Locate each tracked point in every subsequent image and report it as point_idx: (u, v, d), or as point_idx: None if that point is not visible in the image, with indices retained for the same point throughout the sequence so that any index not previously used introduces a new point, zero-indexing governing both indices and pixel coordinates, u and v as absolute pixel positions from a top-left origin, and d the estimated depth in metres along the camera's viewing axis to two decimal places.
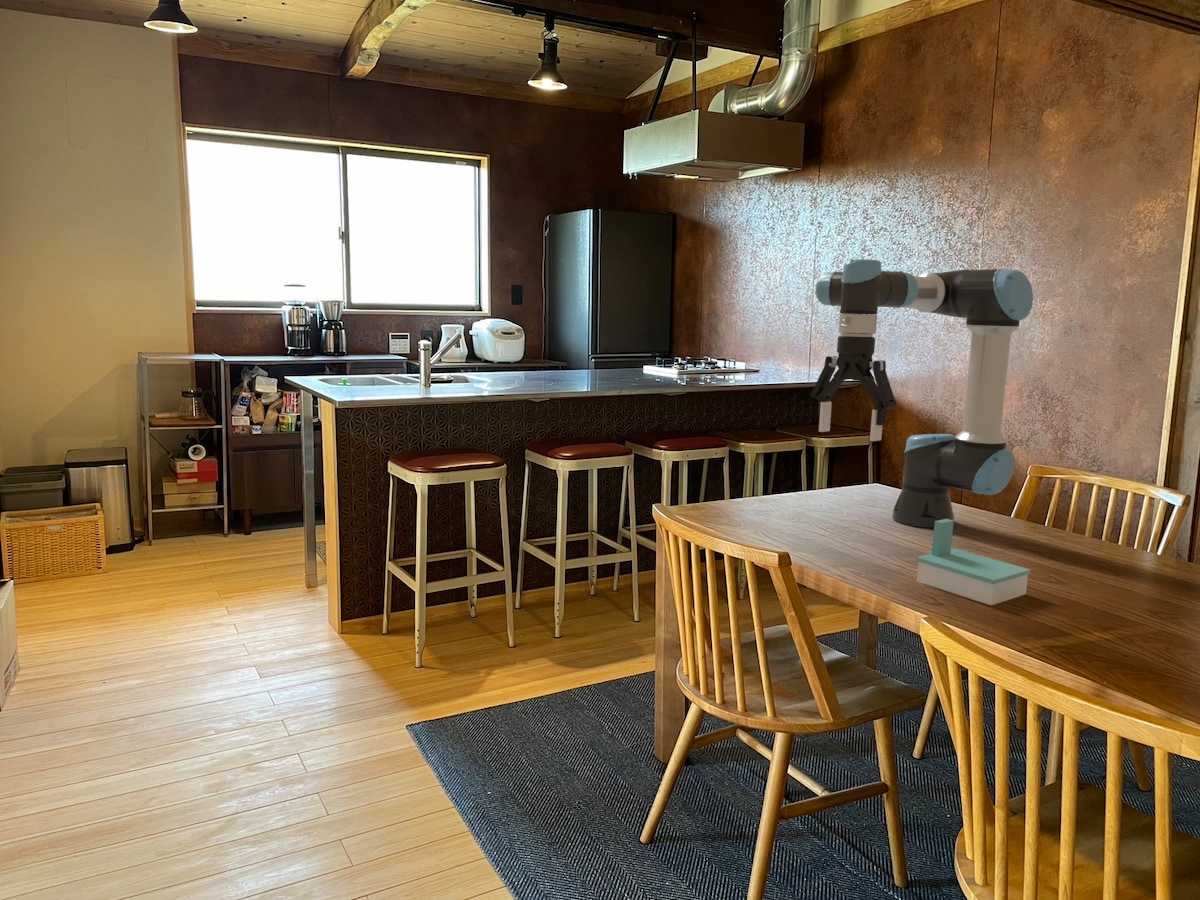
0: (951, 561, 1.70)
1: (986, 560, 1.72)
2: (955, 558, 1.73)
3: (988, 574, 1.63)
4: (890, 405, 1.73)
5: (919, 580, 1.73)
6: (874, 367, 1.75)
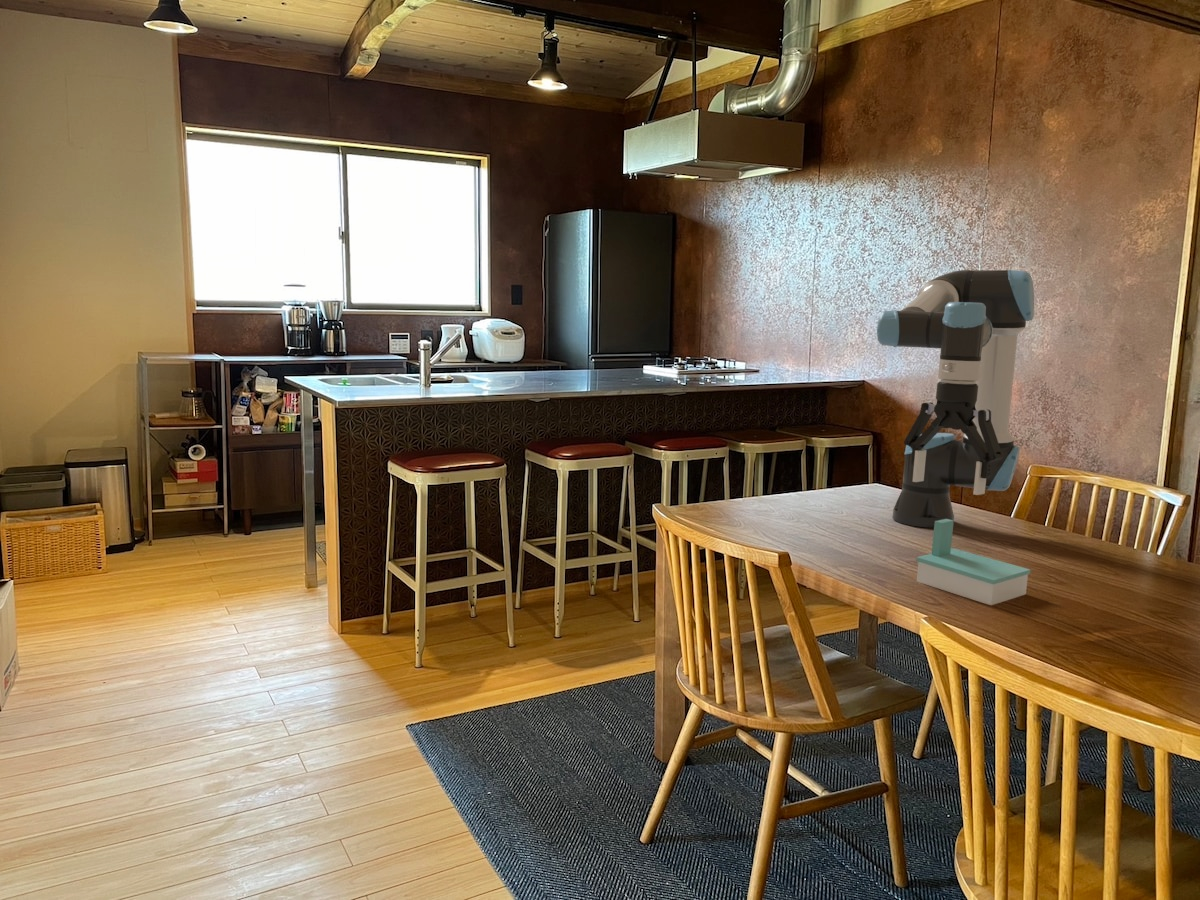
0: (951, 561, 1.70)
1: (986, 560, 1.72)
2: (955, 558, 1.73)
3: (988, 574, 1.63)
4: (997, 458, 1.63)
5: (919, 580, 1.73)
6: (979, 417, 1.65)
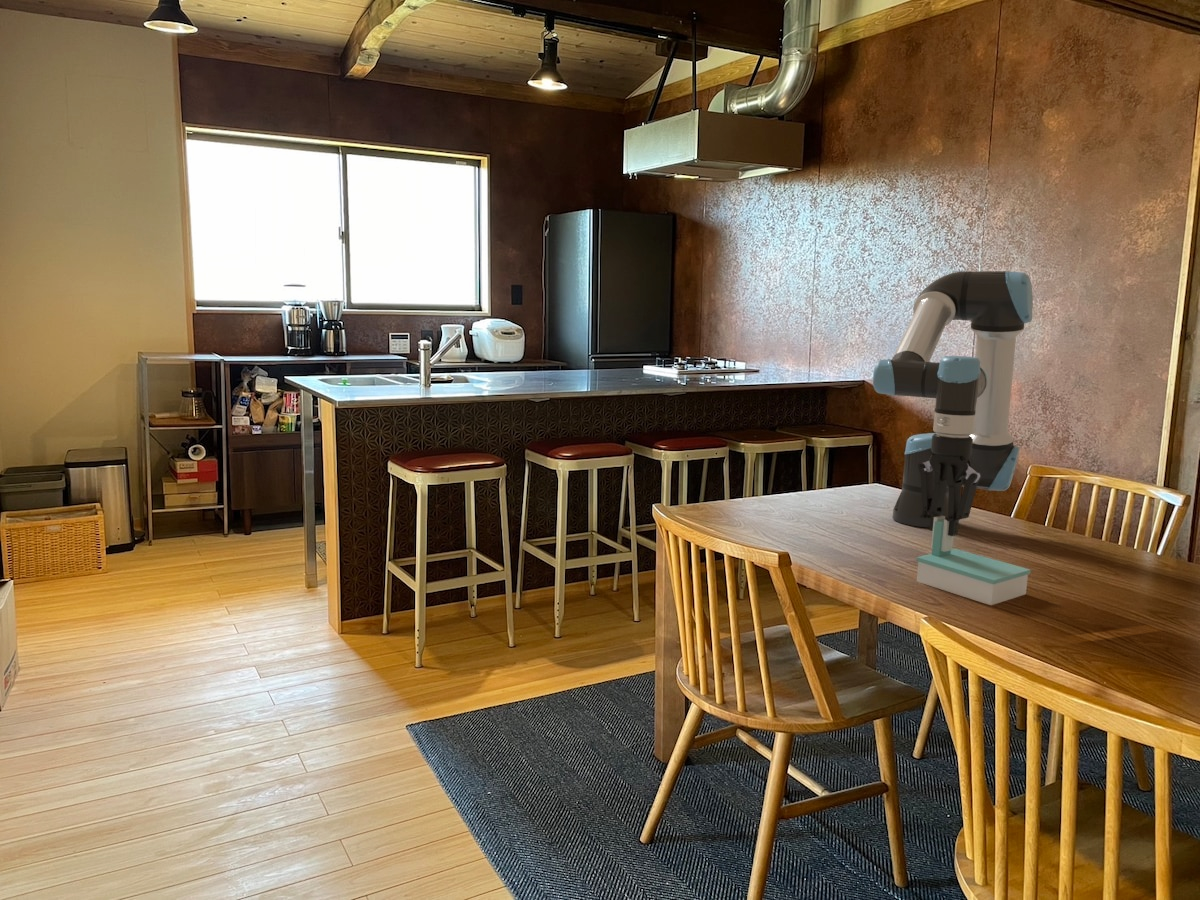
0: (951, 561, 1.70)
1: (986, 560, 1.72)
2: (955, 558, 1.73)
3: (988, 574, 1.63)
4: (962, 518, 1.70)
5: (919, 580, 1.73)
6: (969, 478, 1.67)
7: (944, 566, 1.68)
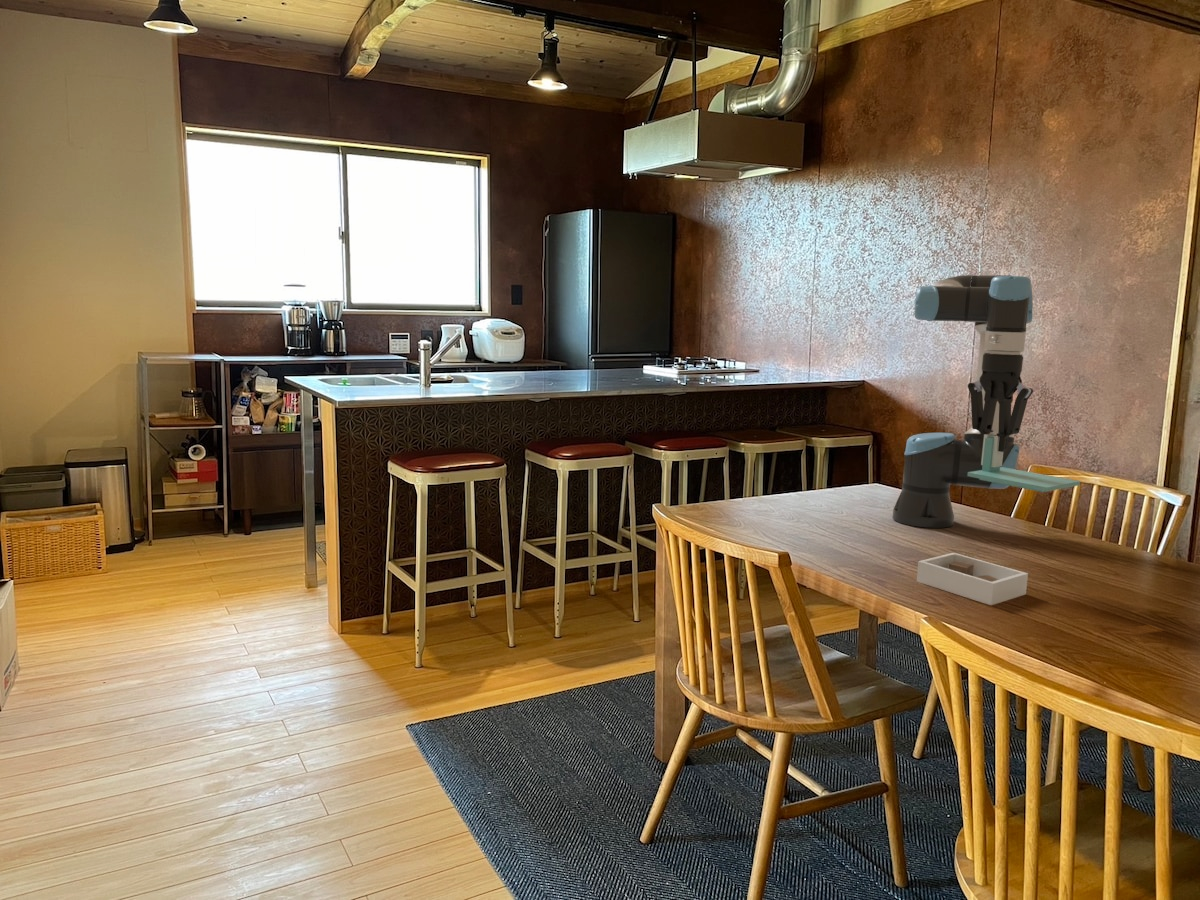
0: (1002, 475, 1.76)
1: (1035, 475, 1.77)
2: (1005, 473, 1.79)
3: (1040, 483, 1.69)
4: (1013, 433, 1.76)
5: (919, 580, 1.73)
6: (1020, 393, 1.73)
7: (996, 478, 1.73)
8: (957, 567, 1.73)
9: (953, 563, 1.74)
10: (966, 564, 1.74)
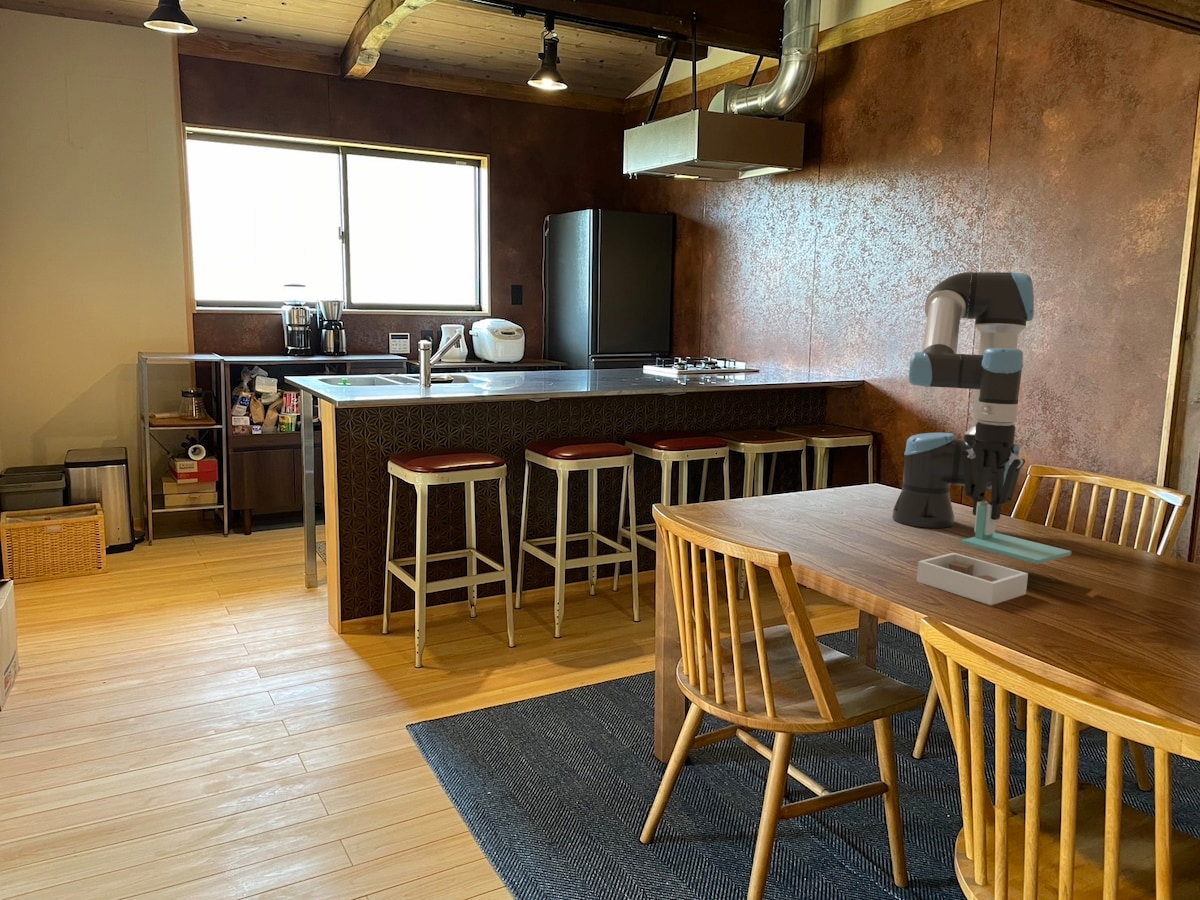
0: (995, 544, 1.78)
1: (1028, 543, 1.80)
2: (998, 540, 1.81)
3: (1031, 554, 1.71)
4: (1005, 502, 1.78)
5: (919, 580, 1.73)
6: (1012, 464, 1.76)
7: (988, 548, 1.76)
8: (957, 567, 1.73)
9: (953, 563, 1.74)
10: (966, 564, 1.74)
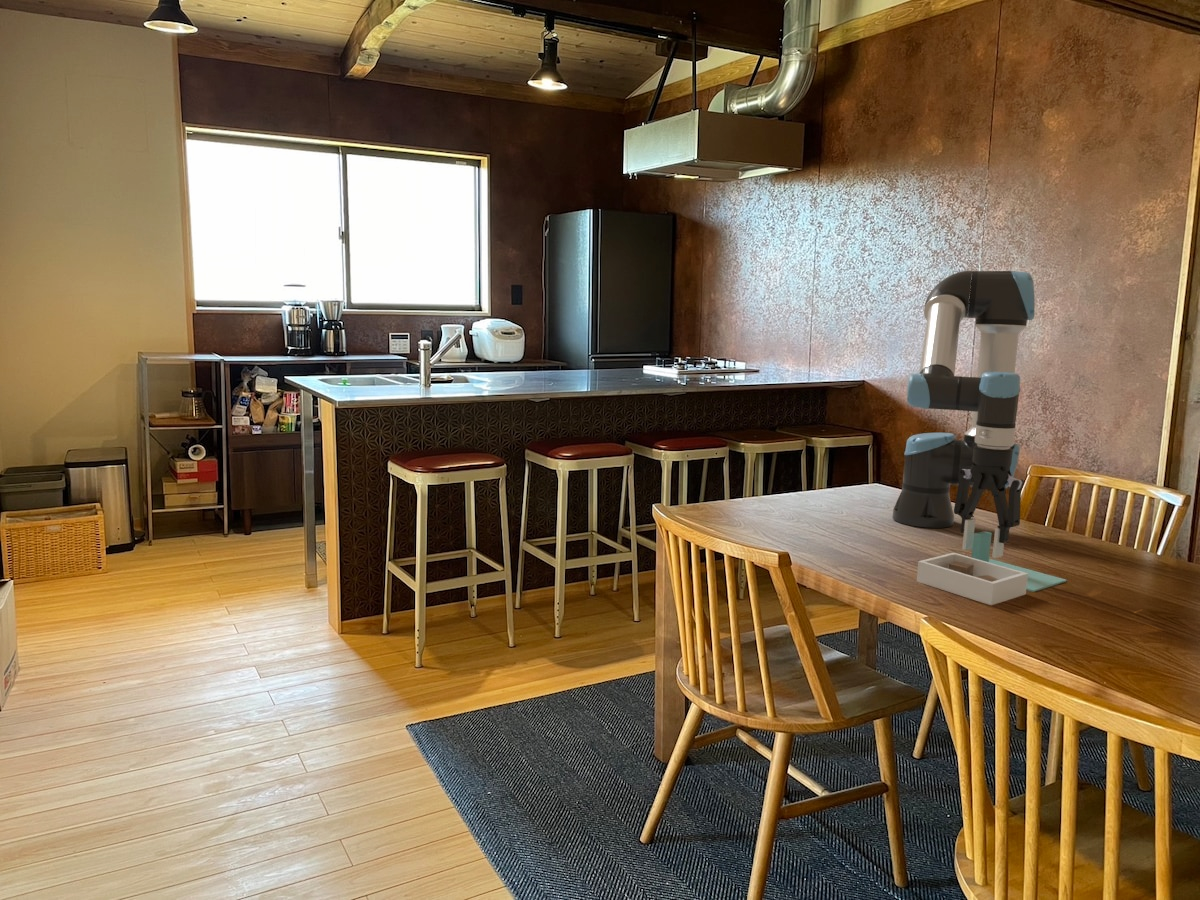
0: None
1: (1023, 570, 1.81)
2: None
3: (1027, 584, 1.72)
4: (1014, 526, 1.77)
5: (919, 580, 1.73)
6: (1012, 485, 1.76)
7: None
8: (957, 567, 1.73)
9: (953, 563, 1.74)
10: (966, 564, 1.74)
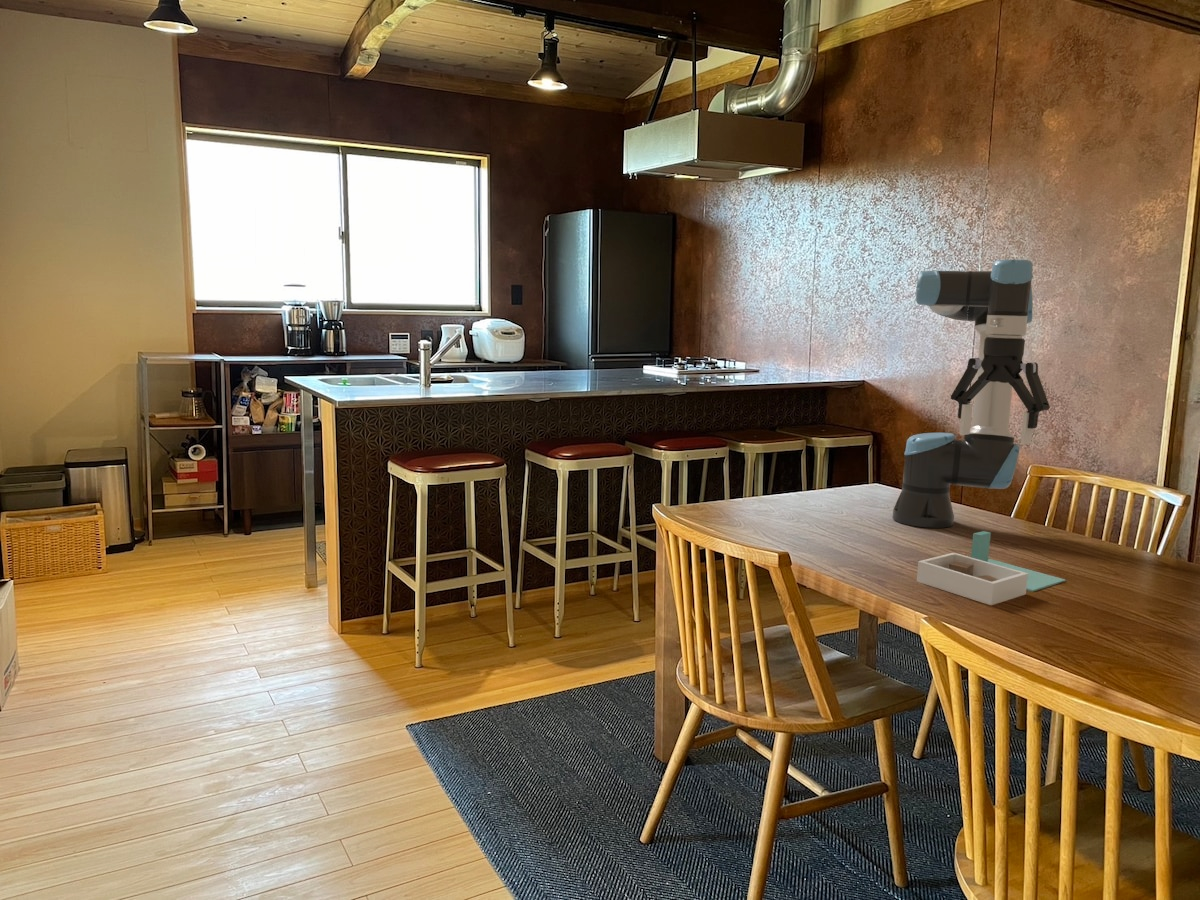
0: None
1: (1022, 570, 1.81)
2: None
3: None
4: (1044, 408, 1.70)
5: (919, 580, 1.73)
6: (1027, 369, 1.72)
7: None
8: (957, 567, 1.73)
9: (953, 563, 1.74)
10: (966, 564, 1.74)
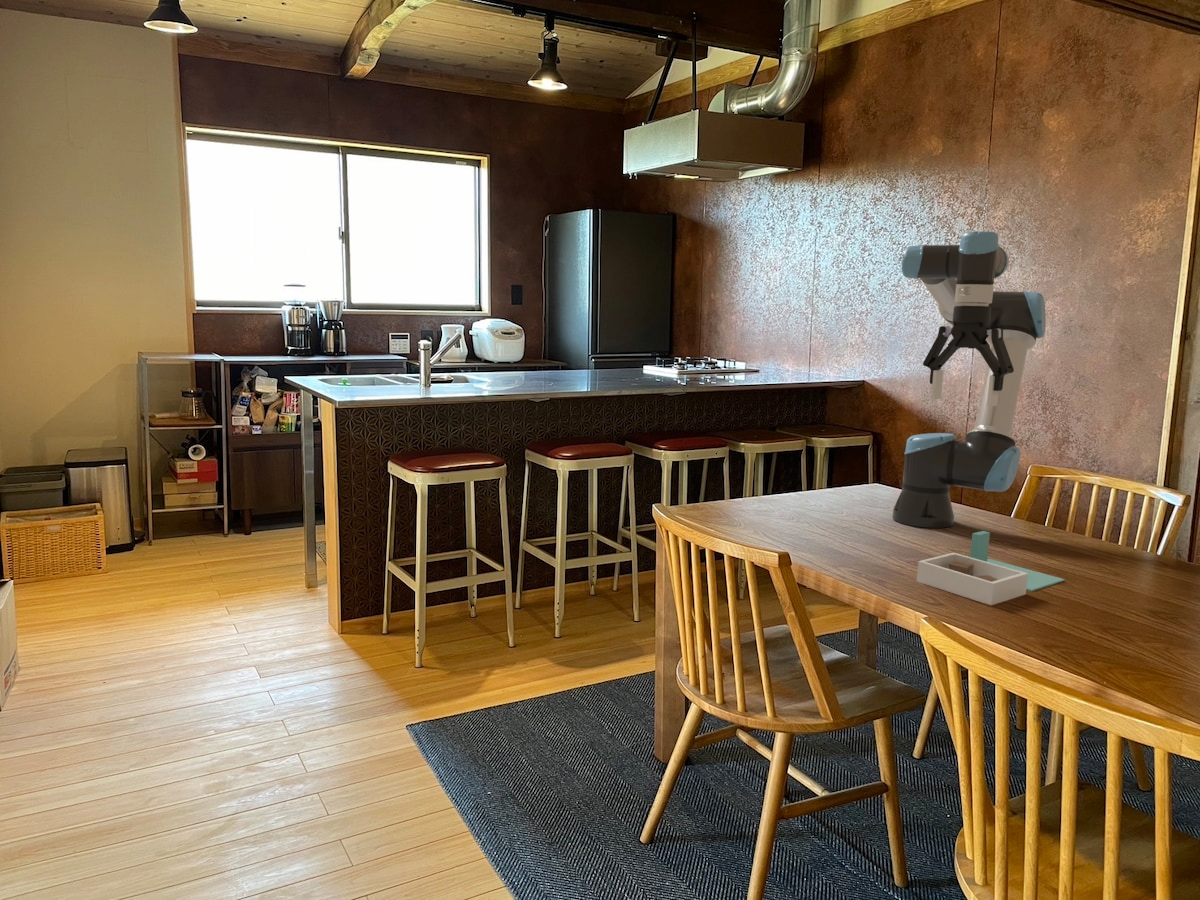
0: None
1: (1021, 570, 1.82)
2: None
3: None
4: (1009, 371, 1.81)
5: (919, 580, 1.73)
6: (992, 335, 1.82)
7: None
8: (957, 567, 1.73)
9: (953, 563, 1.74)
10: (966, 564, 1.74)
